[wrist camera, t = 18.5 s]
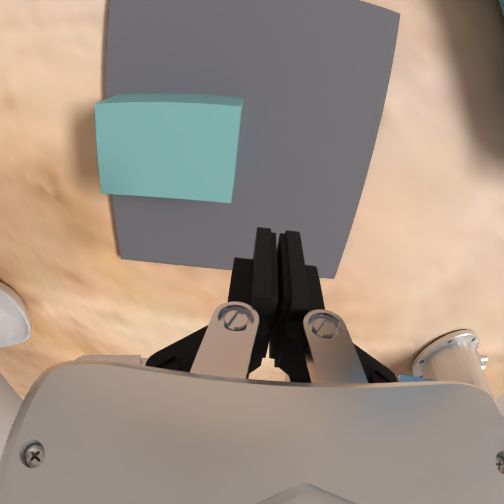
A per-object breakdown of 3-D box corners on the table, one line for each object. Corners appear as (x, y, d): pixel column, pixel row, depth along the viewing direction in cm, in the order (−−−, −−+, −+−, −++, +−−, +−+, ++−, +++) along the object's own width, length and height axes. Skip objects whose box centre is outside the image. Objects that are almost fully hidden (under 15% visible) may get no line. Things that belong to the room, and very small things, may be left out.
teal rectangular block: (240, 106, 18) (92, 104, 18) (230, 203, 22) (99, 193, 22) (243, 97, 21) (114, 94, 21) (234, 180, 25) (117, 173, 25)
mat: (397, 14, 17) (400, 13, 16) (333, 274, 32) (334, 278, 32) (114, -13, 16) (111, -14, 15) (122, 255, 31) (121, 258, 30)
